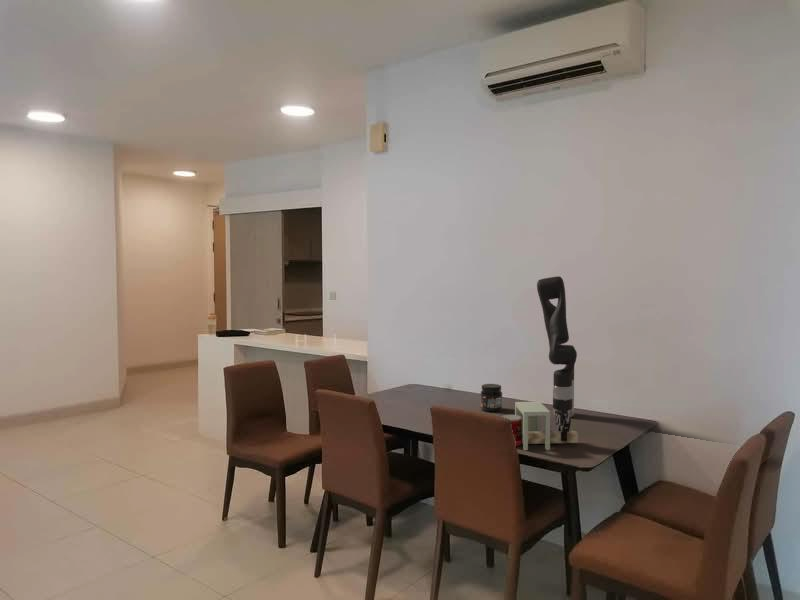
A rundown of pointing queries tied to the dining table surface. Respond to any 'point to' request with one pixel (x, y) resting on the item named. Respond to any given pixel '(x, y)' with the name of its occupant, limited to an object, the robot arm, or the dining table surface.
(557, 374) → the robot arm
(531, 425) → the stand
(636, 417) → the dining table surface
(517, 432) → the canned food
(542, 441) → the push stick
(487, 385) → the supplement container
